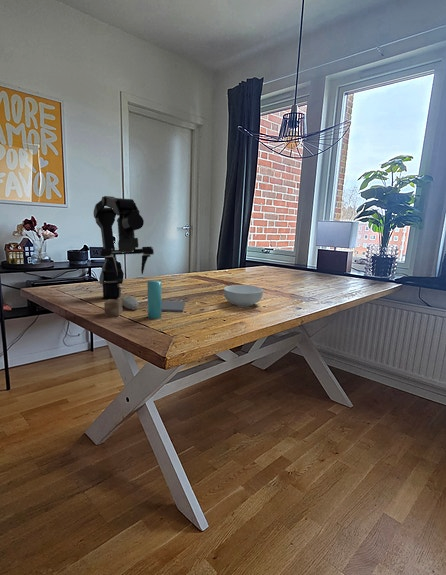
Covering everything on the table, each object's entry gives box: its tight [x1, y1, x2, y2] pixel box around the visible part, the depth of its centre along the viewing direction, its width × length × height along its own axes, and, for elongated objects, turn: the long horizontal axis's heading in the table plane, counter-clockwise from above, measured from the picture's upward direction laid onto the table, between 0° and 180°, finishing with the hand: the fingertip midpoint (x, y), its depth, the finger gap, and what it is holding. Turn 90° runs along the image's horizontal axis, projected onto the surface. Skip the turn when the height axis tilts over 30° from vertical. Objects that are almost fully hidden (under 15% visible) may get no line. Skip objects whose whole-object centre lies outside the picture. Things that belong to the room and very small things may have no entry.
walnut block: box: [103, 299, 124, 317], centre depth 119 cm, size 5×5×5 cm
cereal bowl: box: [223, 284, 264, 308], centre depth 141 cm, size 17×17×7 cm
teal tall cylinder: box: [147, 279, 162, 320], centre depth 117 cm, size 5×5×13 cm
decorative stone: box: [120, 294, 140, 311], centre depth 131 cm, size 6×16×3 cm, turn 30°
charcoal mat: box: [161, 300, 186, 313], centre depth 132 cm, size 13×13×1 cm
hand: (129, 275), depth 123 cm, fingers open, 9 cm apart
